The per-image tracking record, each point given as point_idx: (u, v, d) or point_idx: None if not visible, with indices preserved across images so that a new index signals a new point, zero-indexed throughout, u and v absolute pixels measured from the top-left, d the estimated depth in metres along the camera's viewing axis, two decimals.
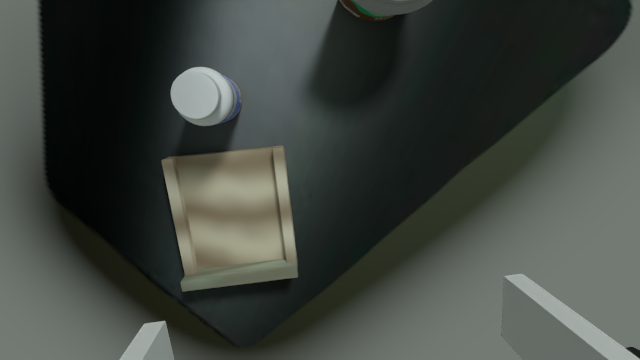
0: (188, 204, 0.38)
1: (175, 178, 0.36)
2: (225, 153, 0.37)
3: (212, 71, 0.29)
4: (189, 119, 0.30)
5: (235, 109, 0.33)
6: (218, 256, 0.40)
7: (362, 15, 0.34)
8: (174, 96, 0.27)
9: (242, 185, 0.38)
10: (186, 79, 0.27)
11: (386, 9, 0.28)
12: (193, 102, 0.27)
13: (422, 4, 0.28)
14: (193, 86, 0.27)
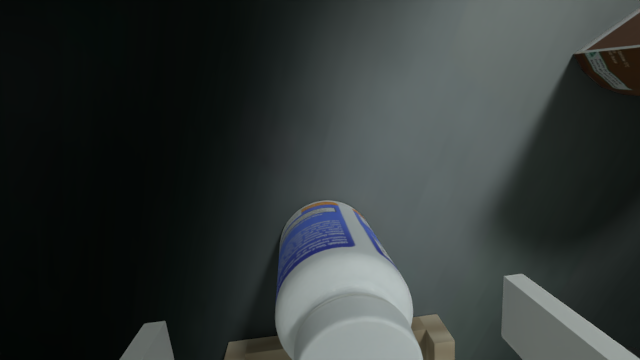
0: None
1: None
2: None
3: (378, 267, 0.12)
4: None
5: None
6: None
7: None
8: None
9: None
10: (344, 340, 0.09)
11: None
12: None
13: None
14: (360, 355, 0.09)
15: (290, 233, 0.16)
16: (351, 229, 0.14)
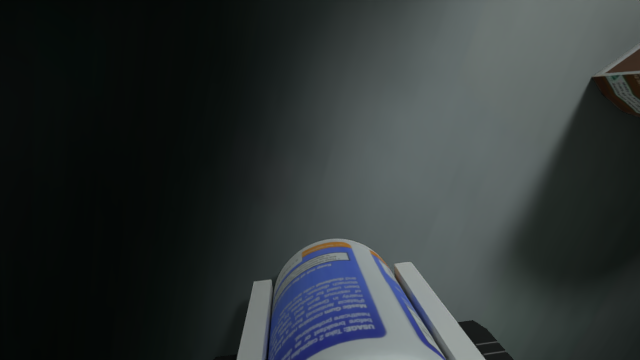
0: None
1: None
2: None
3: None
4: None
5: None
6: None
7: None
8: None
9: None
10: None
11: None
12: None
13: None
14: None
15: (286, 291, 0.11)
16: (375, 295, 0.10)
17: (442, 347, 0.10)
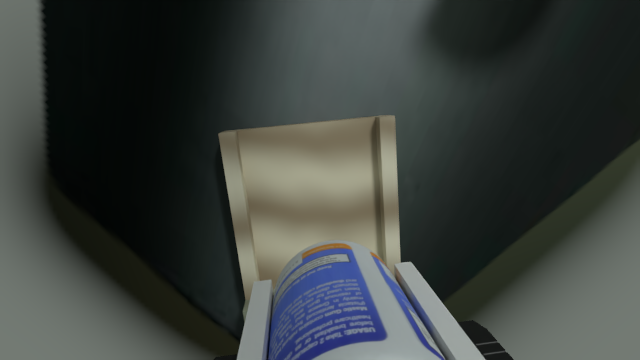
0: (251, 199, 0.26)
1: (237, 160, 0.24)
2: (307, 125, 0.25)
3: None
4: None
5: None
6: None
7: None
8: None
9: (329, 171, 0.26)
10: None
11: None
12: None
13: None
14: None
15: (287, 293, 0.11)
16: (376, 297, 0.10)
17: (442, 347, 0.10)
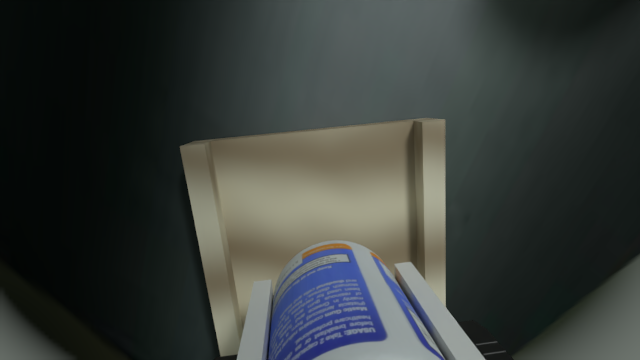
0: (233, 239, 0.18)
1: (210, 186, 0.16)
2: (314, 133, 0.17)
3: None
4: None
5: None
6: None
7: None
8: None
9: (344, 199, 0.18)
10: None
11: None
12: None
13: None
14: None
15: (287, 293, 0.11)
16: (376, 297, 0.10)
17: (442, 347, 0.10)
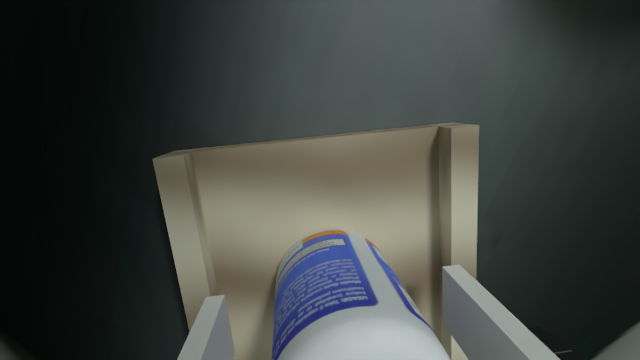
0: (221, 268, 0.15)
1: (191, 208, 0.13)
2: (319, 141, 0.14)
3: (413, 338, 0.08)
4: None
5: None
6: None
7: None
8: None
9: (355, 220, 0.15)
10: None
11: None
12: None
13: None
14: None
15: (289, 273, 0.13)
16: (369, 273, 0.11)
17: (517, 357, 0.09)
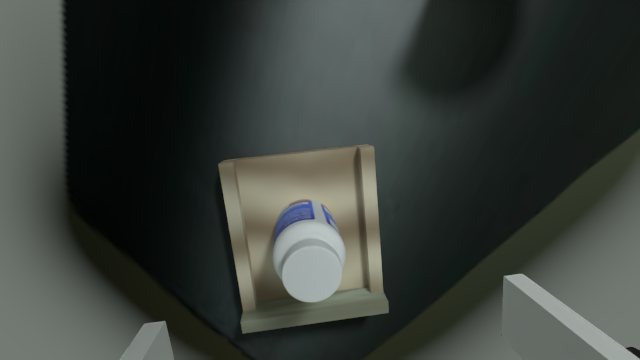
0: (248, 220, 0.30)
1: (235, 187, 0.28)
2: (297, 154, 0.29)
3: (325, 228, 0.23)
4: None
5: None
6: (283, 285, 0.31)
7: None
8: (286, 277, 0.21)
9: (316, 195, 0.30)
10: (303, 256, 0.20)
11: None
12: (310, 283, 0.21)
13: None
14: (311, 264, 0.20)
15: (282, 216, 0.27)
16: (315, 212, 0.25)
17: None
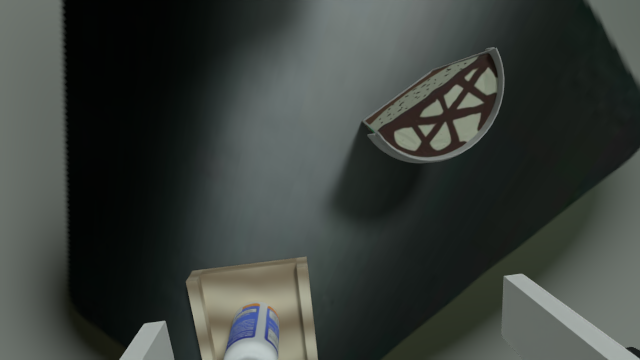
0: (211, 317, 0.38)
1: (199, 297, 0.36)
2: (249, 269, 0.37)
3: (260, 347, 0.31)
4: None
5: None
6: None
7: None
8: None
9: (265, 298, 0.38)
10: None
11: (417, 162, 0.28)
12: None
13: None
14: None
15: (234, 322, 0.35)
16: (258, 325, 0.33)
17: None
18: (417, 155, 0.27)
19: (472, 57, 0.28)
